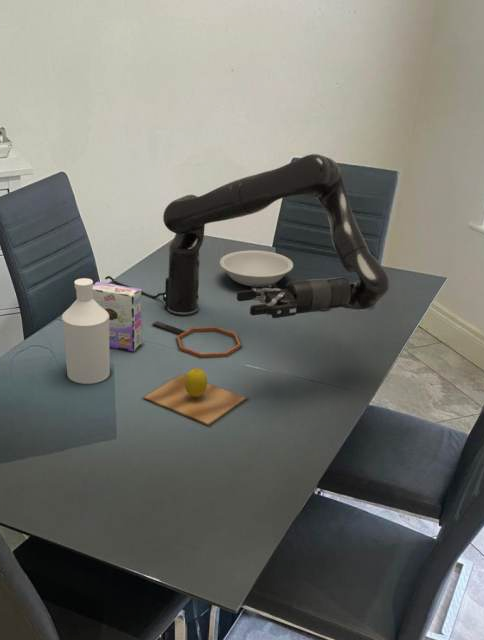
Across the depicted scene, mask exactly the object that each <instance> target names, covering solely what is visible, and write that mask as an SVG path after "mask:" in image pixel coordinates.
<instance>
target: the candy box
mask: <svg viewBox="0 0 484 640" xmlns="http://www.w3.org/2000/svg"><path fill="white" fill-rule="evenodd" d="M132 287H133V286H130V287H126V286H120V285H118V284H115V283H108V282H101V281H96V282H95V283H93V288H92V299H93V300H94V301H95V302H96V303H98V304H99V305H100V306H101V307H102V308H103V309H104V310H105V311H107V312H108V314H109V348H111V349H112V348H113V349H118V350H124V351H128V352H135V351H136V350H137V349H138V348H140V346H142V345H143V340H142V339H143V337H142V335H143V334H142V333H143V330H142V325H143V324H142V321H143V319H142V314H143V313H142V294H141V291H142V288H136V287H133V288H132Z"/></svg>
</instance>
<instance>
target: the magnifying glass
mask: <svg viewBox="0 0 484 640" xmlns="http://www.w3.org/2000/svg"><path fill="white" fill-rule="evenodd" d="M152 327H155V328H157V329H161V330H164V331H167V332H169V333H172V334H175V335H177V336H176V341H177V345H178V348H179V351H181V352H184V353H187V354H188V355H189V354H190V355H192V356H194V357H197V358H220V357H221V358H224V357H228V356H230V355H231V354H232V353H234V352H236V351H237V350H239V349H241V345H242V344H241V342H240V339H239V337H238V335H237V333H235V332H232V331H229V330H227V329H223V328H221V327H217V326H203V327H190V328H189V329H187V330H183V329H181V328H178V327H175V326H172V325H169V324H166V323H163V322H161V321H154V322H153V323H152ZM195 332H197V333H198V332H218V333H220V334H224V335H227V336H229V337H232V338H233V339H234V341H235V342H236V345H234V346H233V347H231V348H230V349H229V350H226V351H225V352H224V351H223V352H205V353H204V352H203V353H201V352H198V351H195V350H193V349H190V348H188V347H184V346H183V345H182V341H181V340H182V338H184V337H186V336H188V335H190V334H191V333H195Z"/></svg>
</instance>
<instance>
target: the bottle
mask: <svg viewBox="0 0 484 640" xmlns="http://www.w3.org/2000/svg"><path fill="white" fill-rule="evenodd" d="M93 285H94V281H93V279H91V278H86V277H83V278H77V279H76V280H74V289H75V294H76V299H75V300H74V302H73V303H72V304H71V305H70V306H69V308H67V309H66V310H65V311H64V312H63V313H62V315H61V321H62V332H63V343H64V352H65V363H66V364H65V366H66V375H67V378H68V379H69V380H70V381H72V382H74V383H78V384H82V385H91V384H92V385H93V384H98V383H100V382H103V381H105V380H106V379H108V378H109V376H110V374H111V367H110V365H111V364H110V363H111V361H110V358H111V357H110V356H111V355H110V354H111V353H110V347H109V314H108V312H107V311H105V310H104V309H103V308H102V307H101V306H100V305H99V304H98V303H96V302H95V301H94V300H93V299H92V288H93Z"/></svg>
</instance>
